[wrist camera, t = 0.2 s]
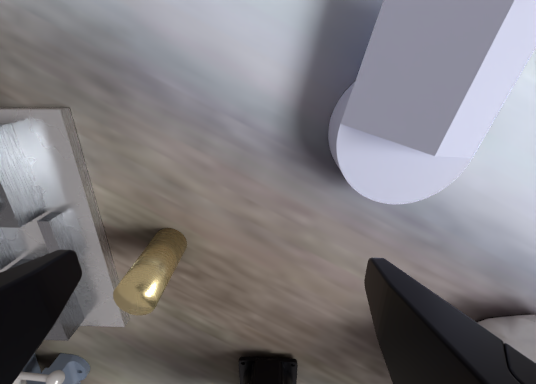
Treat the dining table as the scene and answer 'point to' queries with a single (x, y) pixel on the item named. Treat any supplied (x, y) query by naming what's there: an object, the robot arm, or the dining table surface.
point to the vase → (515, 332)
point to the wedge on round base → (428, 93)
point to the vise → (55, 371)
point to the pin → (150, 273)
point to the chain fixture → (54, 212)
